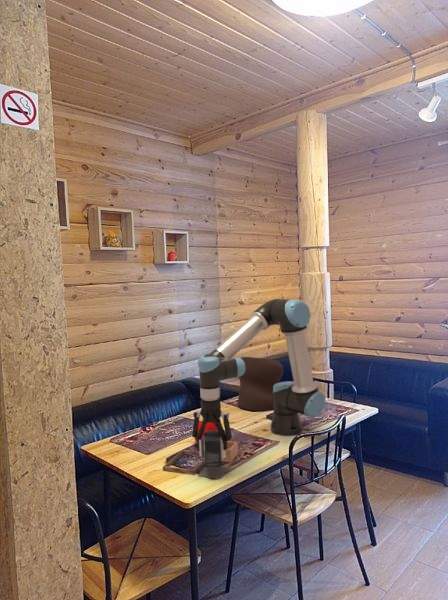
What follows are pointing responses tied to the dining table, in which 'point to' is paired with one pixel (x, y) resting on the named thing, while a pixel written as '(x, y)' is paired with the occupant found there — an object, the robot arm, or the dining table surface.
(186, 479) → the dining table surface
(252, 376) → the vase
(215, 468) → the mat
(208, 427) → the red round ball
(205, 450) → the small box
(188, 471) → the tray
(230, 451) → the terracotta pot
